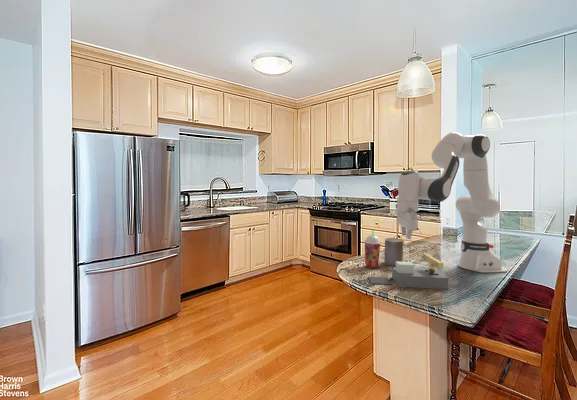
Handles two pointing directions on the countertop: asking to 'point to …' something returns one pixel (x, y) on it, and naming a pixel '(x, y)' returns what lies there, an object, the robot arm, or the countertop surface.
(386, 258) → the pillar candle
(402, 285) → the housing
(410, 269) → the cover
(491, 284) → the countertop surface
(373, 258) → the smoothie
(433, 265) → the key
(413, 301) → the countertop surface
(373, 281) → the mat
